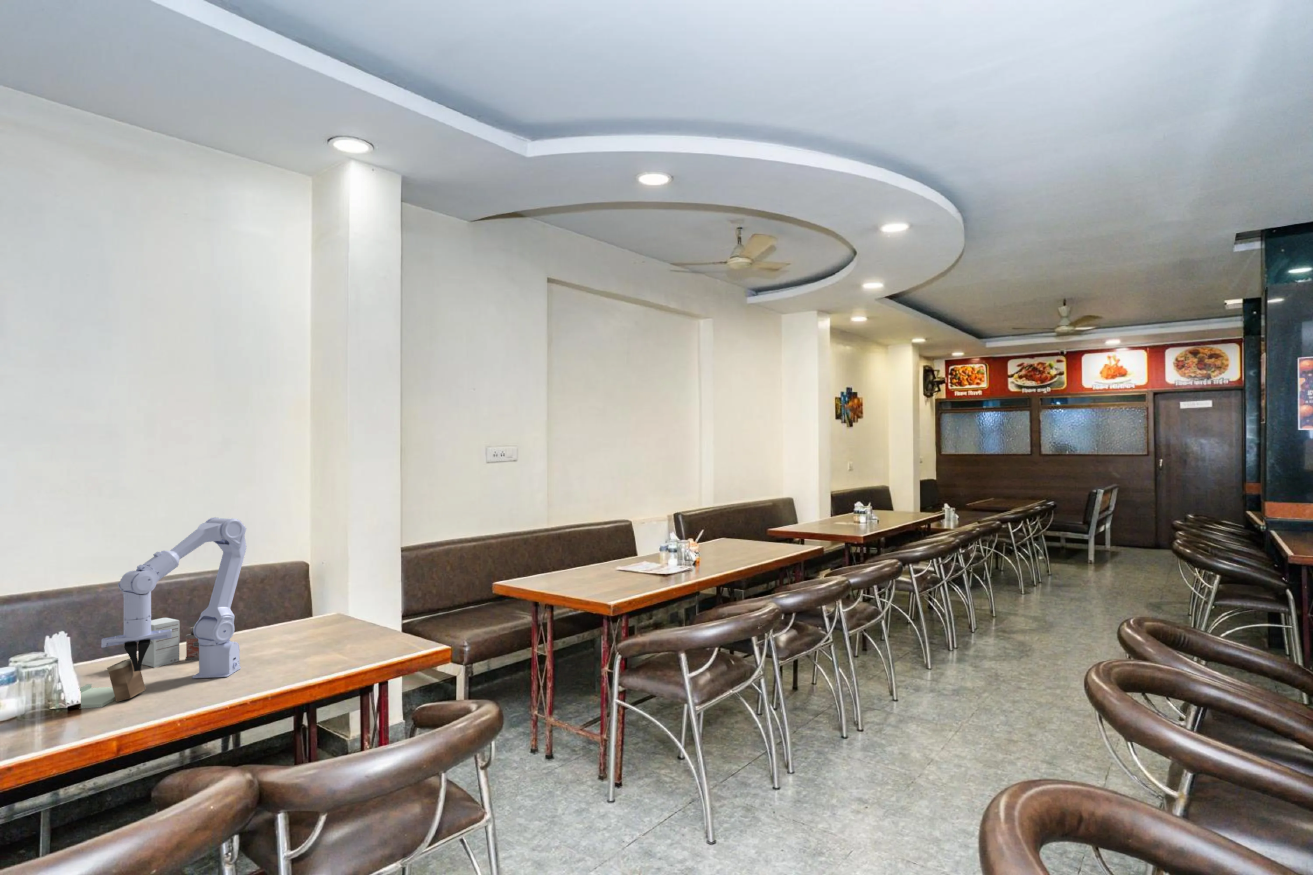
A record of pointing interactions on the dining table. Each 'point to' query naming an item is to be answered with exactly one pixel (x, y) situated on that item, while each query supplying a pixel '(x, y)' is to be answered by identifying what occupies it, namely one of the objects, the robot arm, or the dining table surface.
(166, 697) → the dining table surface
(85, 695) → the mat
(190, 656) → the small bottle
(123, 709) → the dining table surface
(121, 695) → the walnut block
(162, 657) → the supplement box
